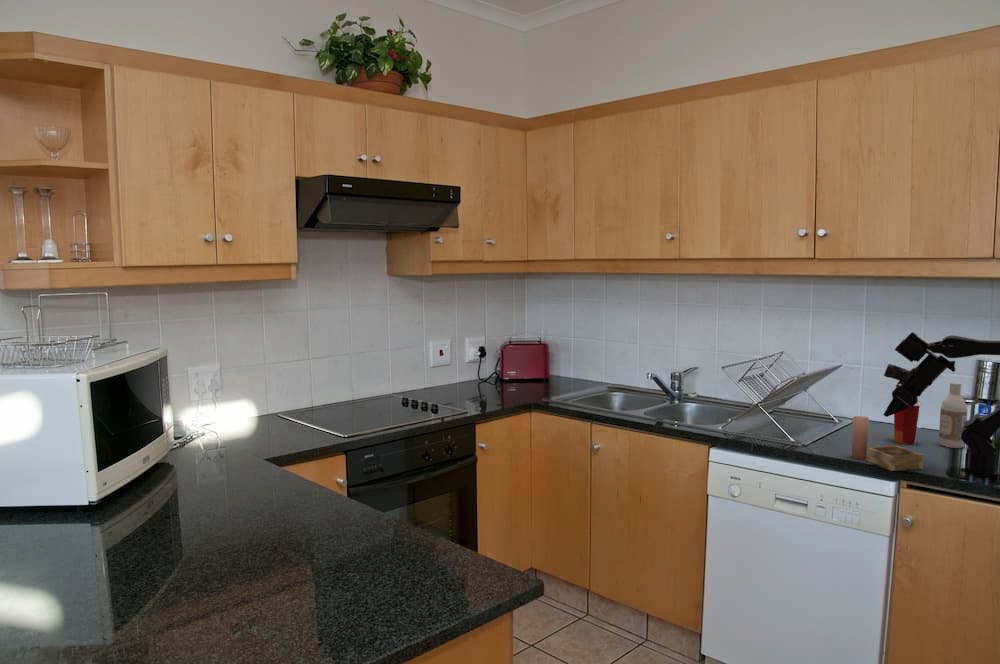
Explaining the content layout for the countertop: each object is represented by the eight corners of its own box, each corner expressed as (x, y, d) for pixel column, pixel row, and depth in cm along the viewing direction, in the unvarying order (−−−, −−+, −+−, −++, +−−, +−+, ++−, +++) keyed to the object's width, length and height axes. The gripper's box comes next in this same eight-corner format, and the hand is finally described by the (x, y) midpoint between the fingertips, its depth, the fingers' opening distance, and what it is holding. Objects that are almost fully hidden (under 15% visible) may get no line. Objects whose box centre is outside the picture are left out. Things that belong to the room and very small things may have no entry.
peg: (869, 458, 208) (871, 419, 206) (857, 459, 207) (859, 419, 206) (860, 455, 212) (862, 415, 210) (848, 455, 211) (850, 416, 210)
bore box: (922, 468, 198) (923, 454, 198) (891, 471, 196) (892, 457, 196) (895, 458, 208) (896, 445, 207) (865, 460, 206) (866, 447, 205)
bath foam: (933, 443, 223) (937, 381, 221) (949, 441, 225) (953, 380, 223) (953, 449, 217) (957, 385, 214) (970, 447, 219) (974, 384, 216)
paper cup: (920, 441, 226) (923, 398, 224) (915, 446, 220) (917, 402, 218) (893, 437, 231) (895, 395, 229) (887, 442, 225) (889, 399, 224)
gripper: (903, 350, 209) (866, 388, 215) (897, 358, 193) (858, 399, 200) (937, 374, 205) (898, 413, 211) (934, 385, 189) (892, 426, 196)
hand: (886, 412), depth 205 cm, fingers open, 9 cm apart
